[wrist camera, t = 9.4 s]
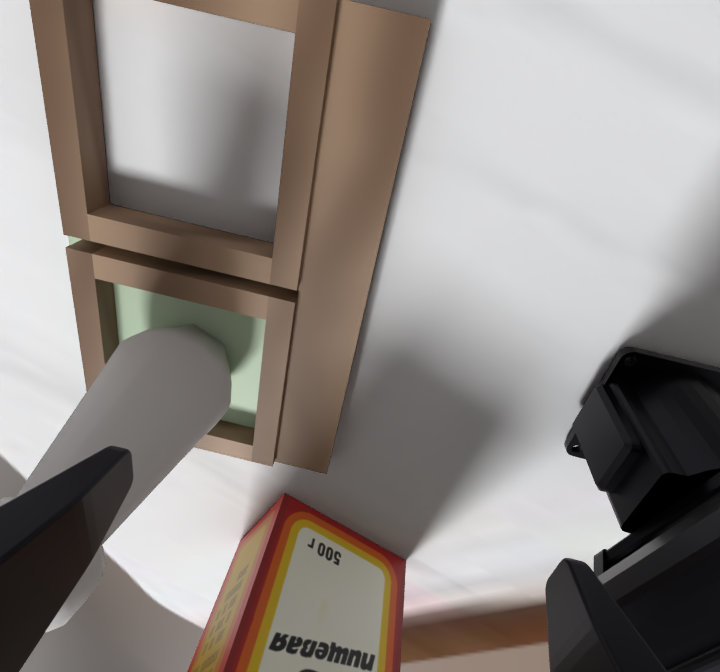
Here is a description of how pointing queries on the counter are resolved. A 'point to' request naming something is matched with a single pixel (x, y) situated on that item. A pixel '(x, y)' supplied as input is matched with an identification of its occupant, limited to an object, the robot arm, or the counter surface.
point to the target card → (228, 327)
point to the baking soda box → (305, 600)
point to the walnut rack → (294, 213)
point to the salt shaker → (141, 420)
